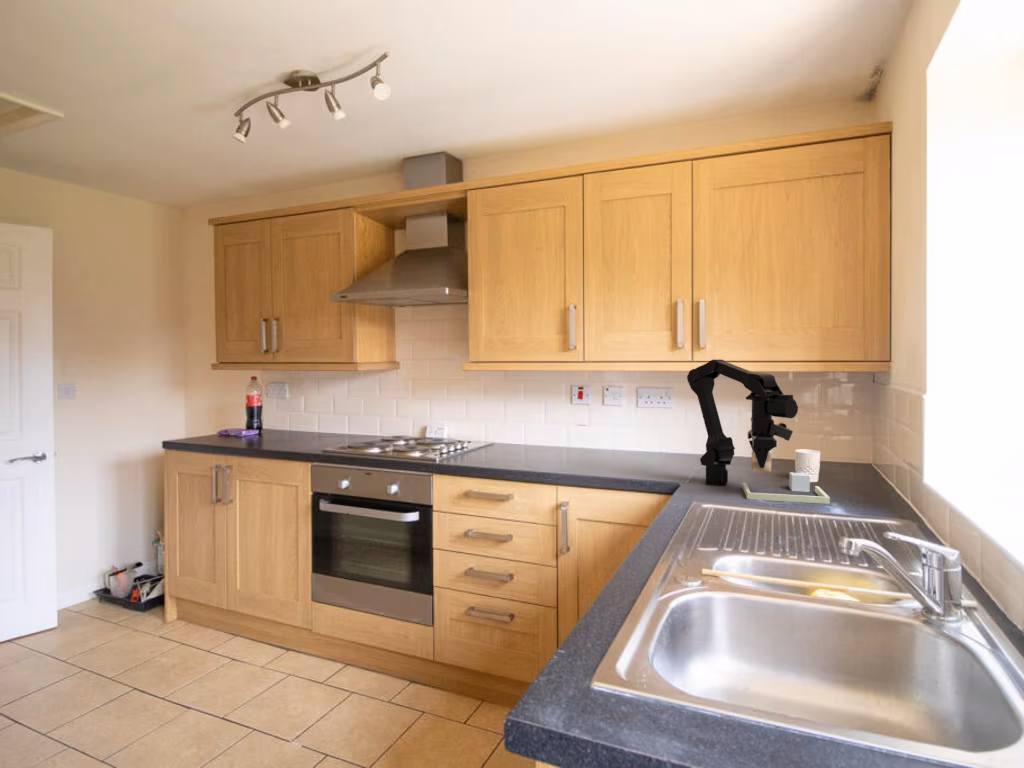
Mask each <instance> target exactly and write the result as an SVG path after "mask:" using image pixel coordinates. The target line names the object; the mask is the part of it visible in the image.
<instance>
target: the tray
mask: <svg viewBox="0 0 1024 768" xmlns="http://www.w3.org/2000/svg"><path fill="white" fill-rule="evenodd" d="M742 490H743V493H744V494H745V498H746V499H747V500H756V501H757V500H760V501H774V502H776V501H777V502H790V503H791V502H792V503H806V504H807V503H809V504H822V505H823V504H826V505H830V504H831V497H830V495H828V494H827V493H826V492H825V491H824V490H823V489H822V488H821V487H820V486H817V485H815V486H814V492H815V494H816V495H806V494H805V495H802V494H801V495H800V494H785V493H784V494H782V493H764V492H751V490H750V488H749V486H748V484H747V482H742Z"/></svg>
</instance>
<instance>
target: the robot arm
mask: <svg viewBox="0 0 1024 768" xmlns="http://www.w3.org/2000/svg"><path fill="white" fill-rule="evenodd" d="M720 375H722V376H724V377H727V378H729V379H732V380H733V381H737V383H738V382H739V383H740V384H742V385H743V386H744V388H745V389H747V390H748V391H749V392H750V394H748V395H747V396H746V397H745V400H750V401H751V417H750V421H751V429H750V430H749V431H748V432H747V439H748V443H749V444H750V448H751V451H752V452H755V455H756V458H757V461H758V463H759V466H760V468H764V466H765V462H766V459H767V455H768V452H769V453H770V451H771V450H773V449H775V448H777V445H778V444H777V442H778V441H777V440H776V438H775V436H776V437H779V438H781V439H784V441H788V442H789V441H790V440H791V437H792V435H793V433H794V431H793V430H792V429H790V428H788V427H787V424H786V423H784V422H779V423H778V424H776V423H775V421H774V419H773V417H775V418H776V417H777V418H782V419H783V418H785V419H793V418H795V417H796V416H797V414H798V410H799V405H798V403H797V401H796V399H794V395H793V394H784V393H783V391H782V390H781V388H780V386H779V385H778V383H777V381H776V377H775V376H774V375H773V374H771V373H765V372H757V371H750V370H749V369H745V368H743V367H741V366H737V365H735V364H732V363H730V362H729V361H728V362H727V361H726V360H724V359H718V358H717V359H710V360H709V361H708V362H707V363H704V364H701V365H700V366H698V367H696V368H692V369H691V370H689V372H688V374H687V376H686V380H687V382H688V385H689V388H690V389H691V390H692V392H693V393H694V394H695V395H696V396H697V399H698V404H699V406H700V411H701V415H702V419H703V422H704V426H705V430H706V432H707V433H706V434H707V439H706V444H705V450H706V451H705V452H704V454H703V455H702V456H701V457H700V458H699V461H700V464H701V465H702V466H704V467H705V479H704V482H705V485H709V486H710V485H712V486H727V483H728V481H729V479H728V478H729V475H728V474H729V473H728V472H729V470H728V469H727V466H729V465H731V463H732V460H733V458H734V456H735V450H736V448H735V445H734V442H733V438H732V437H731V436H728V437H727V435H725V433H724V431H723V427H722V423H721V419H720V416H719V411H718V408H717V405H716V401H715V398H714V397H715V396H714V393H713V390H714V387H715V385H716V384H715V380H716V379H717V378H718V377H720Z"/></svg>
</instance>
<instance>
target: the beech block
mask: <svg viewBox="0 0 1024 768" xmlns="http://www.w3.org/2000/svg"><path fill="white" fill-rule="evenodd" d="M751 470H752V471H753V472H772V454H771V453H770V451H769V452H768V455H767V459H766V462H765V466H764V468H760V466H759V463H758V461H757V458H756V455H755V452H753V451H751Z"/></svg>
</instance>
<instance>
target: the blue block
mask: <svg viewBox="0 0 1024 768" xmlns="http://www.w3.org/2000/svg"><path fill="white" fill-rule="evenodd" d="M788 474H789V481H788V482H789V484H788V486H789V489H790V490H791V491H792V492H803V493H804V492H808V493H809V492H810V490H811V489H810V488H811V482H810V476H809V475H808V474H807V473H796V472H793V471H791V472H789V473H788Z"/></svg>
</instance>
